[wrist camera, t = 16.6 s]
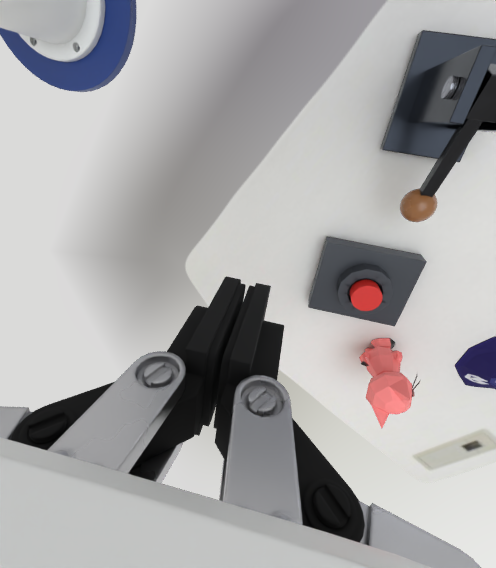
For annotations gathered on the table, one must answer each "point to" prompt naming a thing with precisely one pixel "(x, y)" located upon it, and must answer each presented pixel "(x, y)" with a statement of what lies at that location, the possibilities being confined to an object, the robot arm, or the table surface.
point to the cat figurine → (386, 380)
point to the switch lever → (452, 151)
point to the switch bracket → (438, 92)
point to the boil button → (365, 295)
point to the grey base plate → (364, 265)
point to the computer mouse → (479, 365)
